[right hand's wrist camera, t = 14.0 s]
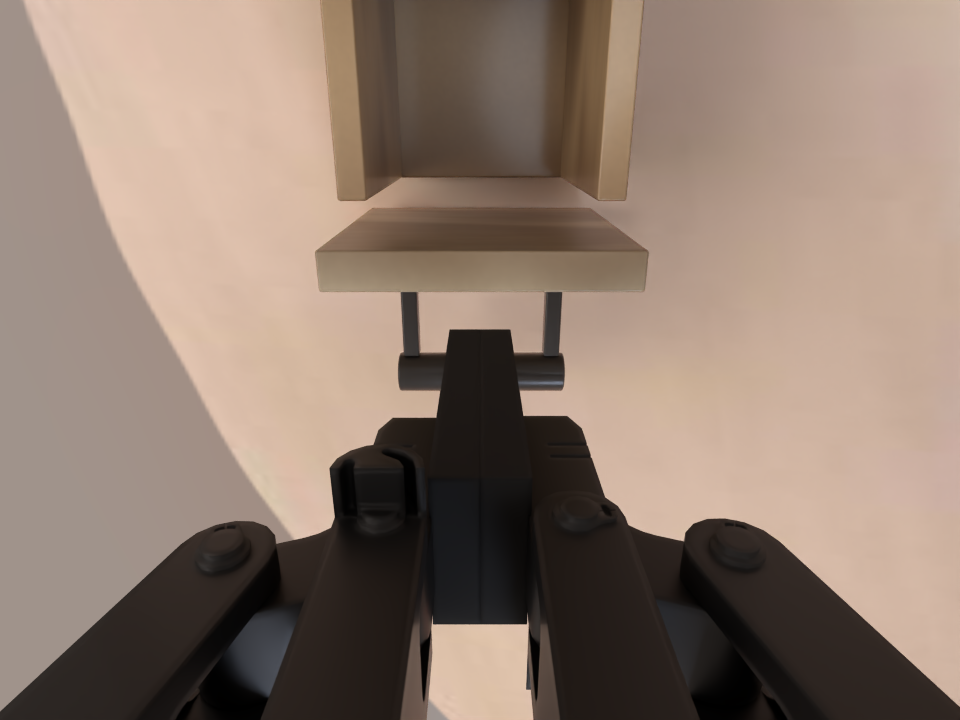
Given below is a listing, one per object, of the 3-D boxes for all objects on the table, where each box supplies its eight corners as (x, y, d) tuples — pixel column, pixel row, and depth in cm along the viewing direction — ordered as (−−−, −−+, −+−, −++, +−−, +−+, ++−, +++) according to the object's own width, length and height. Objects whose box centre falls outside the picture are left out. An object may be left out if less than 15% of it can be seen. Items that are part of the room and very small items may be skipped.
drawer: (581, 351, 27) (627, 454, 19) (381, 351, 27) (335, 454, 19) (629, -353, 18) (761, -774, 10) (333, -353, 18) (205, -774, 10)
